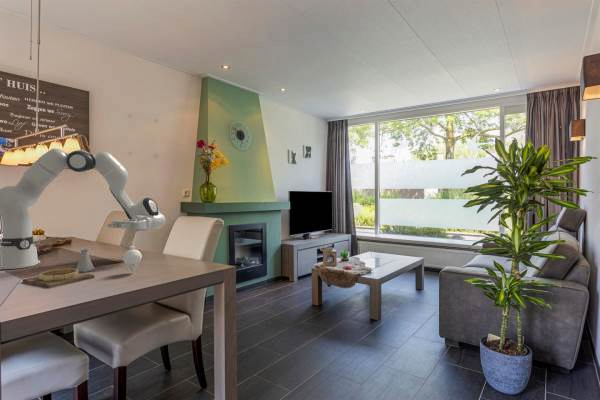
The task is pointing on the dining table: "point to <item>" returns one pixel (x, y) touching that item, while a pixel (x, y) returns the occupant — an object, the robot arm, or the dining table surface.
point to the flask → (85, 262)
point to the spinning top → (132, 258)
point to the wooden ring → (67, 275)
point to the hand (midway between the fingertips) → (114, 225)
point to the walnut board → (57, 283)
